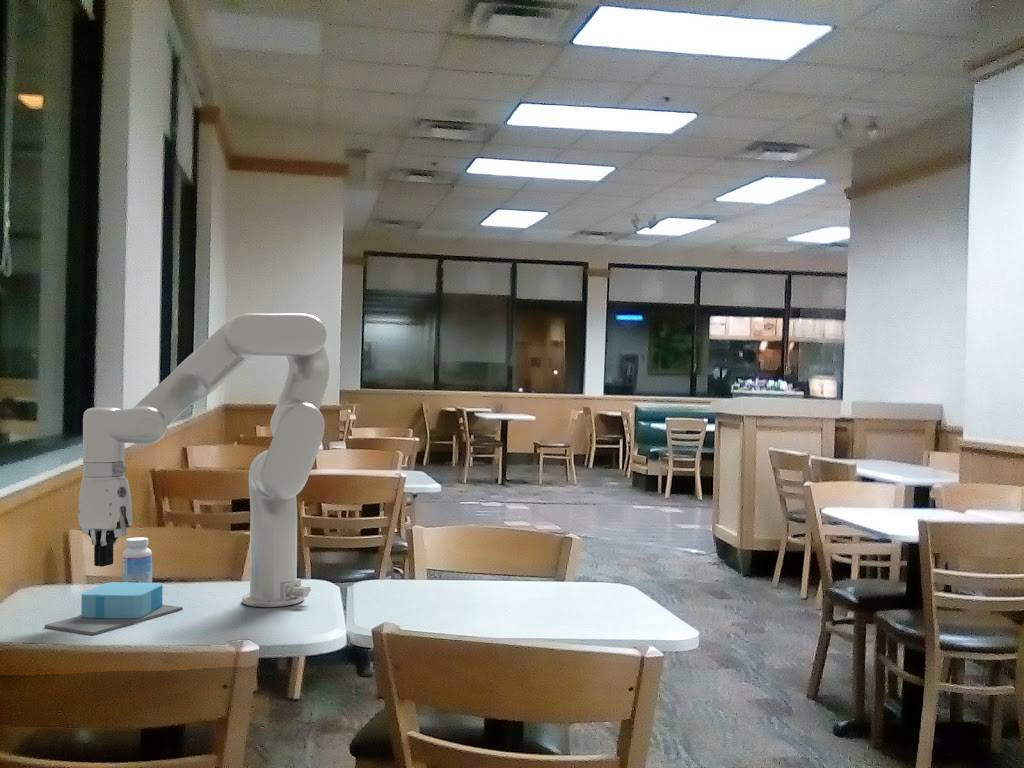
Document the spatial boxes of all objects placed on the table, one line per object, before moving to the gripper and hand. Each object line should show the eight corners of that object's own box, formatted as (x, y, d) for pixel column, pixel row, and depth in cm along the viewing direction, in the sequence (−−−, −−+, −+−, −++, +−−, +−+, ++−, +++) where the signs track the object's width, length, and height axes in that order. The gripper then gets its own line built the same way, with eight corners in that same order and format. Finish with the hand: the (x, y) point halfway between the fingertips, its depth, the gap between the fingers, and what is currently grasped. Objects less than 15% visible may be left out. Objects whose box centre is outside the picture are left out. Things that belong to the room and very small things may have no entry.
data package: (78, 618, 185) (139, 619, 184) (78, 594, 185) (140, 595, 184) (106, 604, 197) (165, 604, 196) (107, 581, 197) (165, 582, 196)
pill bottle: (157, 588, 214) (158, 537, 214) (138, 593, 209) (138, 541, 209) (136, 586, 217) (136, 535, 217) (116, 591, 211) (116, 539, 211)
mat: (182, 609, 194) (182, 607, 194) (93, 635, 174) (93, 632, 174) (136, 603, 199) (136, 601, 199) (44, 627, 179) (44, 624, 179)
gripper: (147, 470, 189) (147, 565, 189) (91, 467, 195) (91, 559, 195) (116, 474, 182) (116, 571, 182) (60, 470, 188) (60, 565, 188)
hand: (103, 564), depth 188 cm, fingers closed
